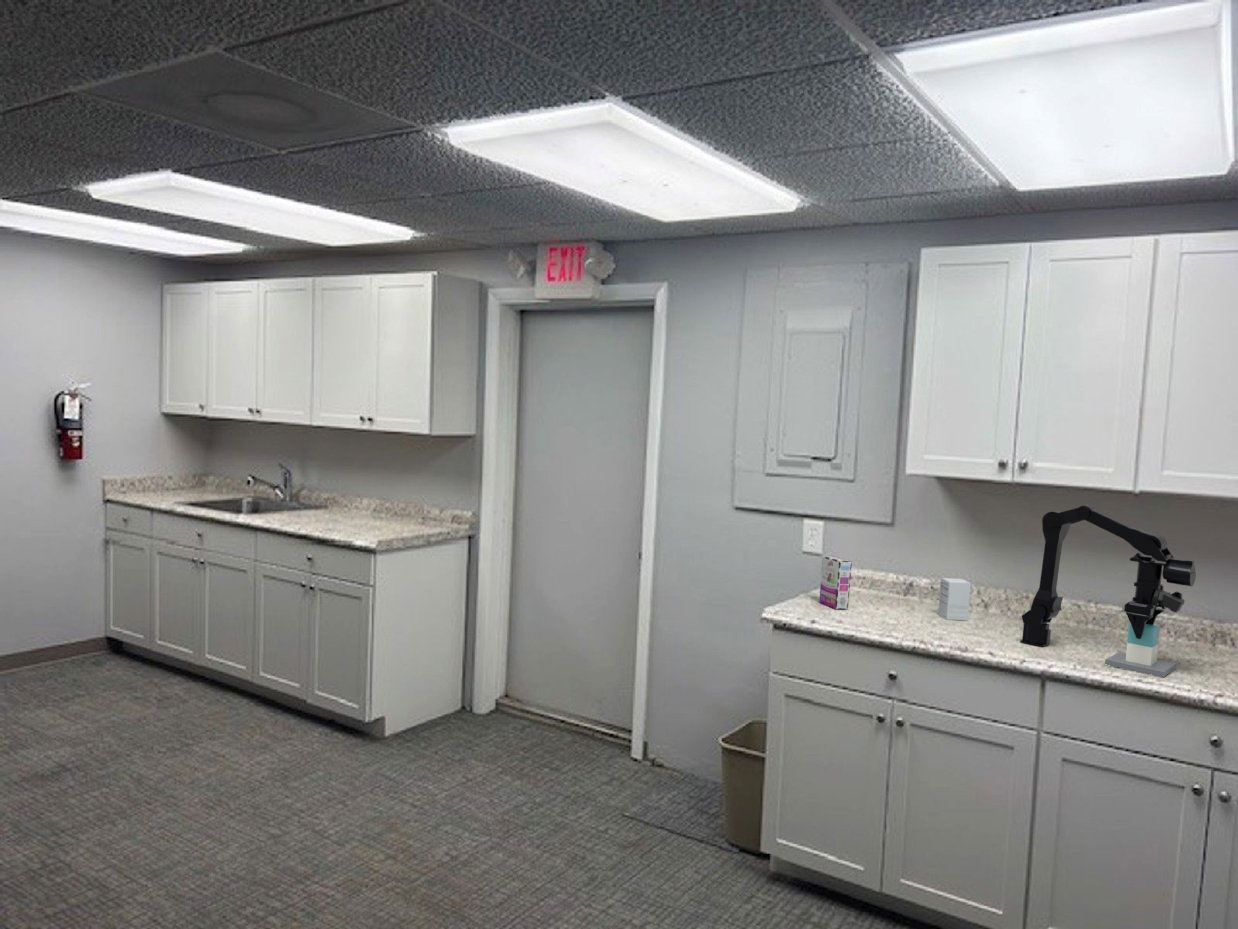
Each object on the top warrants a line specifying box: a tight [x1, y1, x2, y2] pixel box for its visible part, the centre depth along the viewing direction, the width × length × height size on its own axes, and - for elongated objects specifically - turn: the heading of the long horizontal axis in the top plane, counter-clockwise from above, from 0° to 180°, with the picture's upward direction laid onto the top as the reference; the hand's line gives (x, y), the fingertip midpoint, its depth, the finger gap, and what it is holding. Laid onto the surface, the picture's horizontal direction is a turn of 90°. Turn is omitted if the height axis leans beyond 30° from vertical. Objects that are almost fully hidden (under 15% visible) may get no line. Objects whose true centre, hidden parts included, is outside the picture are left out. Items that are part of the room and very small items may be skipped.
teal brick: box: [1126, 623, 1161, 648], centre depth 240 cm, size 6×6×5 cm
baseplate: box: [1104, 651, 1178, 679], centre depth 241 cm, size 14×14×2 cm
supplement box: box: [937, 577, 972, 622], centre depth 290 cm, size 7×7×13 cm
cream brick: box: [1125, 642, 1159, 666], centre depth 241 cm, size 6×6×5 cm
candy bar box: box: [818, 555, 853, 611], centre depth 297 cm, size 11×5×16 cm, turn 17°
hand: (1143, 636), depth 240 cm, fingers open, 9 cm apart
